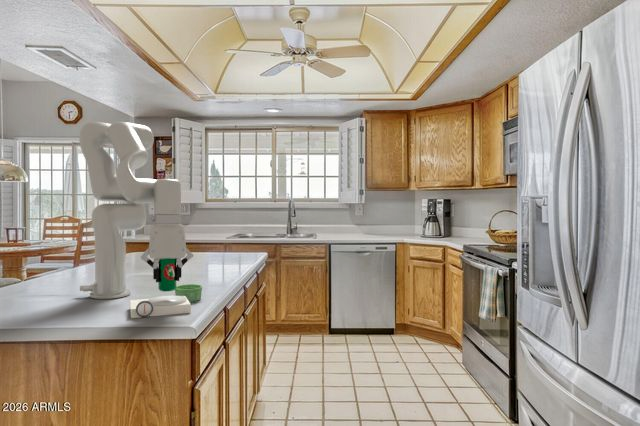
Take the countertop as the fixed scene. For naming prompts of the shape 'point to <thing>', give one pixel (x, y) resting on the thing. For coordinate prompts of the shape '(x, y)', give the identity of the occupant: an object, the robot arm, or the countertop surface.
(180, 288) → the ramekin
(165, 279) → the soda can
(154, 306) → the scale
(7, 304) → the countertop surface
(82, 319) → the countertop surface
